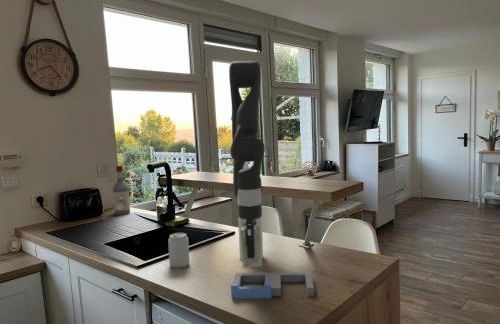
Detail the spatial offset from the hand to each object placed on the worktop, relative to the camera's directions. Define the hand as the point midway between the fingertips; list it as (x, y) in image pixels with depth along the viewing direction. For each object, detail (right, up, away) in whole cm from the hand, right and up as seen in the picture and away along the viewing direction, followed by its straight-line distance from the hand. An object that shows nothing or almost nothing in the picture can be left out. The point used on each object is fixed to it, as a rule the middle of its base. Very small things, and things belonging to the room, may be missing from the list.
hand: (251, 254), depth 119 cm
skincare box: (0, -4, 0) cm, 4 cm away
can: (-27, -10, +23) cm, 37 cm away
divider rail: (+6, -11, 0) cm, 12 cm away
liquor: (-80, -3, +114) cm, 140 cm away
